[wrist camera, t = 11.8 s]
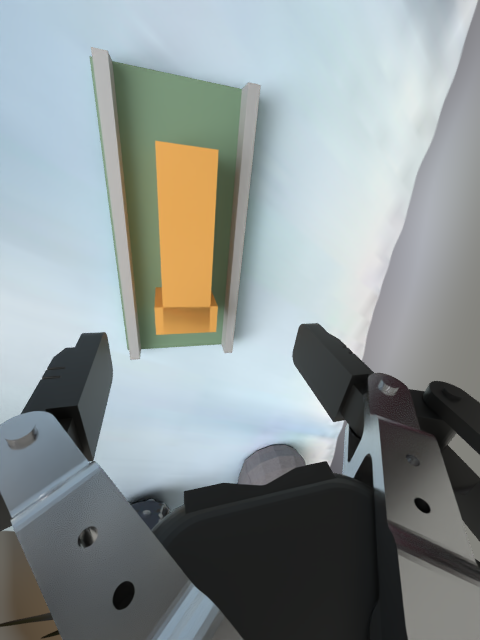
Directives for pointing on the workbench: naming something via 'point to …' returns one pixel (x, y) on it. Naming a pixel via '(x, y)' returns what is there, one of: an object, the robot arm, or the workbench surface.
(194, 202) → the chute
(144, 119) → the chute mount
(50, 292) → the workbench surface
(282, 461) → the soft grey pack
